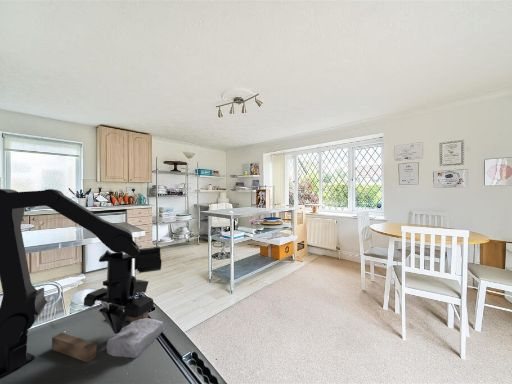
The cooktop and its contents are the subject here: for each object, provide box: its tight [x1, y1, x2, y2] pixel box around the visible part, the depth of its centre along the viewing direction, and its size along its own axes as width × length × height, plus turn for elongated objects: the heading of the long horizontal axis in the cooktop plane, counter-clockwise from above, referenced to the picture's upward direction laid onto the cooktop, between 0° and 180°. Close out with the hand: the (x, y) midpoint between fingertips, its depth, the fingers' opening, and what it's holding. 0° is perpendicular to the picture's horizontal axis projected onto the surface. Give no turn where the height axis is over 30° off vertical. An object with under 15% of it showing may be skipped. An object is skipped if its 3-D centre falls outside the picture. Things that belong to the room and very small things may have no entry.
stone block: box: [106, 317, 164, 359], centre depth 59 cm, size 12×5×10 cm
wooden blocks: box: [51, 310, 150, 364], centre depth 62 cm, size 12×18×3 cm
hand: (117, 333), depth 60 cm, fingers closed
